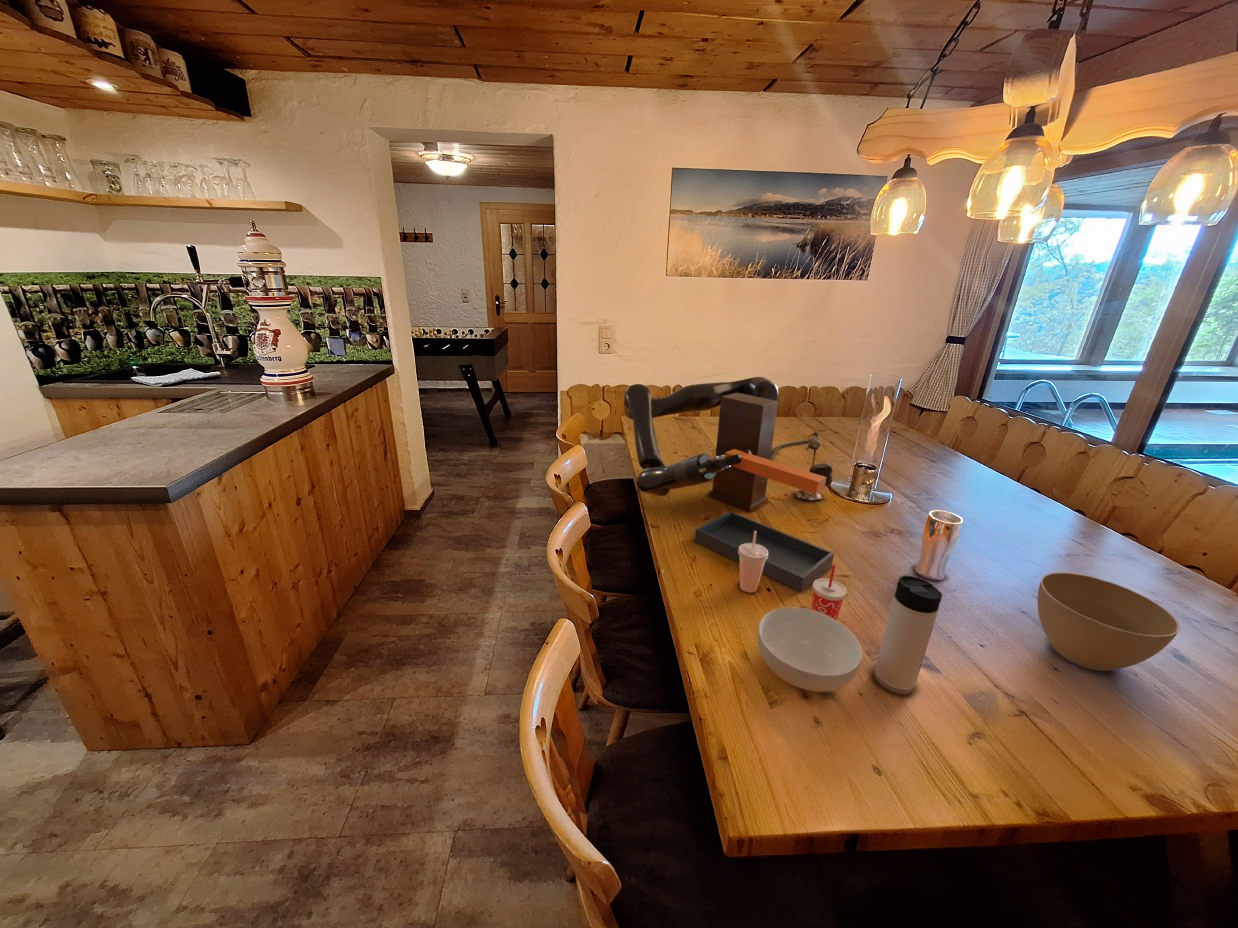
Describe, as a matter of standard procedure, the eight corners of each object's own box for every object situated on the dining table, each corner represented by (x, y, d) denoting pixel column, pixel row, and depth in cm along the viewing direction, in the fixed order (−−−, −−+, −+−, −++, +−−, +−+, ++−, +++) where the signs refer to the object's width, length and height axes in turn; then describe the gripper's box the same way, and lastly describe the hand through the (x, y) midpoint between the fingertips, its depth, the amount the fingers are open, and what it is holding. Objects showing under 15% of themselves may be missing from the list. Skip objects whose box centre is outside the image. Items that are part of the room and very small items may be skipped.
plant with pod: (829, 505, 149) (841, 443, 142) (791, 498, 154) (801, 437, 147) (832, 495, 156) (843, 436, 149) (795, 488, 161) (804, 430, 153)
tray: (729, 522, 138) (730, 511, 137) (831, 565, 118) (834, 552, 117) (694, 541, 128) (695, 529, 127) (800, 591, 108) (803, 578, 107)
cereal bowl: (736, 669, 87) (740, 637, 84) (779, 624, 98) (784, 594, 95) (832, 726, 76) (841, 691, 73) (868, 668, 87) (876, 636, 85)
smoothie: (760, 580, 112) (768, 526, 107) (765, 597, 106) (774, 541, 101) (732, 578, 113) (738, 524, 108) (735, 595, 107) (742, 539, 102)
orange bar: (733, 460, 125) (734, 449, 124) (824, 489, 109) (826, 477, 108) (723, 463, 122) (725, 452, 121) (815, 494, 106) (818, 481, 105)
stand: (726, 487, 161) (736, 391, 149) (767, 502, 151) (781, 400, 139) (708, 495, 155) (717, 396, 143) (749, 511, 144) (763, 406, 133)
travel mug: (864, 668, 87) (888, 573, 80) (899, 666, 88) (926, 571, 81) (885, 696, 81) (913, 596, 74) (922, 693, 82) (953, 594, 75)
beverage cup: (799, 623, 98) (810, 563, 93) (815, 611, 102) (827, 553, 97) (828, 639, 94) (841, 578, 89) (844, 626, 98) (857, 566, 93)
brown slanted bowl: (1117, 706, 80) (1147, 648, 76) (1000, 636, 96) (1019, 584, 91) (1171, 674, 87) (1201, 619, 83) (1053, 613, 102) (1074, 564, 98)
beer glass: (942, 568, 118) (959, 512, 112) (950, 584, 112) (968, 526, 106) (910, 562, 120) (924, 507, 115) (915, 578, 114) (931, 520, 108)
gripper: (672, 464, 128) (723, 447, 115) (705, 451, 137) (755, 435, 124) (682, 491, 128) (733, 477, 115) (714, 477, 137) (765, 463, 124)
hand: (744, 455), depth 119 cm, fingers closed on orange bar, 4 cm apart
